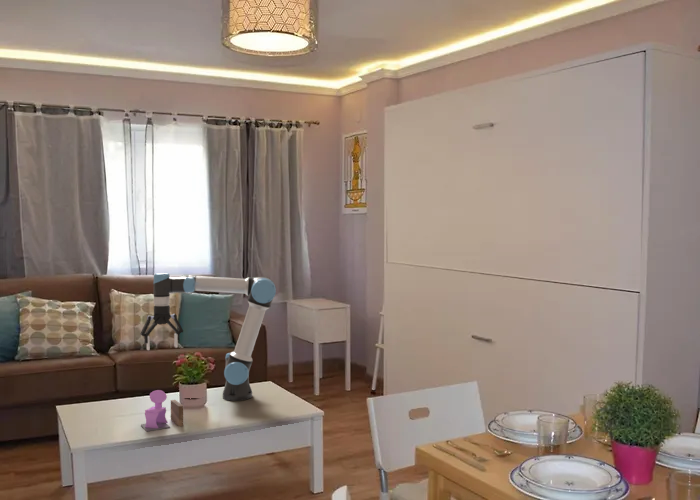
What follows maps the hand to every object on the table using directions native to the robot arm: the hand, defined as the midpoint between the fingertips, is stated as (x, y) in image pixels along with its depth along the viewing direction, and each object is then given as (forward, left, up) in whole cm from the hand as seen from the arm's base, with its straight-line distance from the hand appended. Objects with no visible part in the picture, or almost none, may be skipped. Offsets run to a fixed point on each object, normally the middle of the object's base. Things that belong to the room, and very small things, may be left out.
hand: (162, 348), depth 322 cm
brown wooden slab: (+2, +29, -29) cm, 41 cm away
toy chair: (+12, +30, -28) cm, 43 cm away
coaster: (+12, +30, -29) cm, 43 cm away
